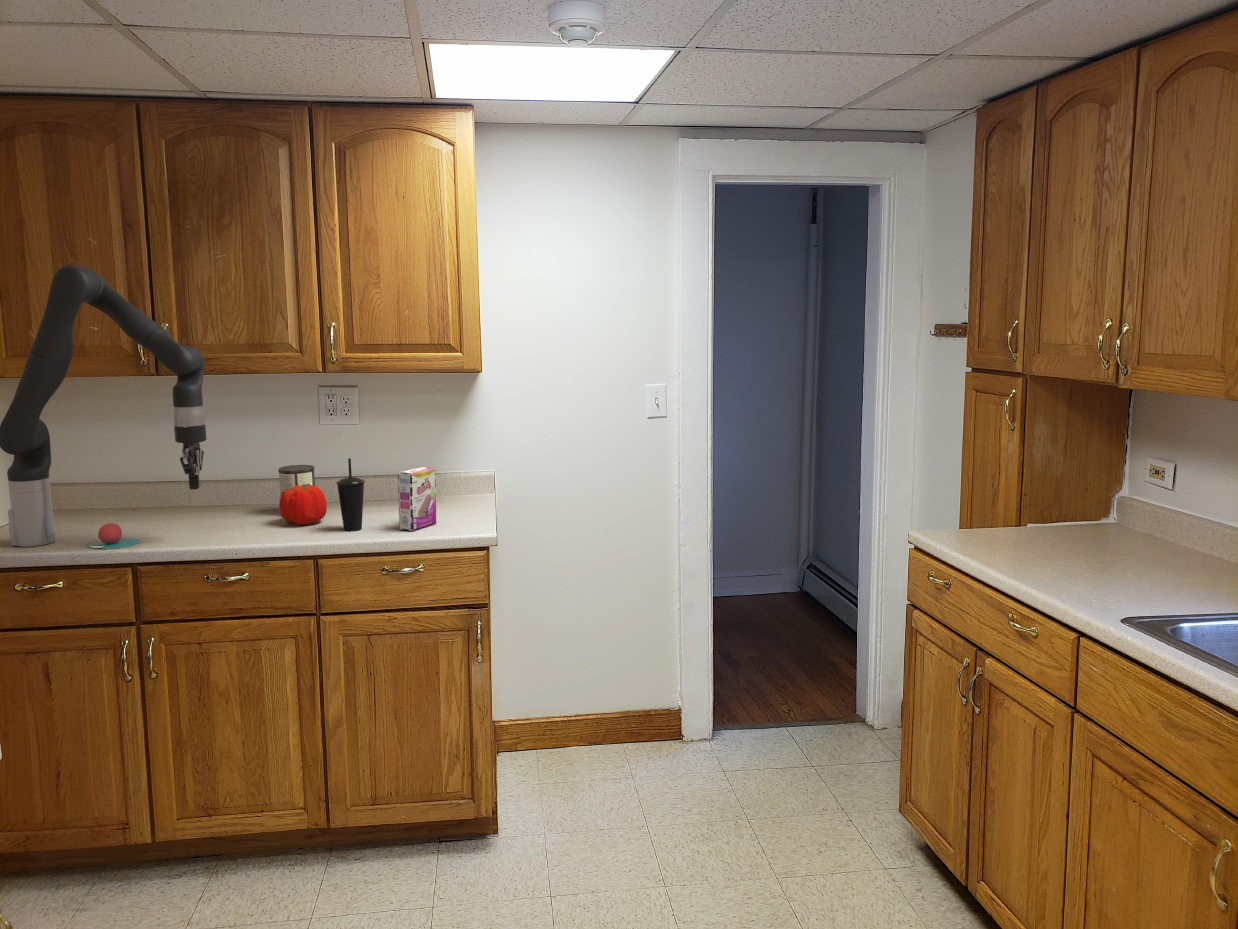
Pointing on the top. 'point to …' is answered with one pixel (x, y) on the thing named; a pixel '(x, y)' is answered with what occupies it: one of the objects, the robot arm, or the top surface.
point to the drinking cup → (351, 501)
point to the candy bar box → (417, 498)
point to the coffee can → (296, 476)
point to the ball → (110, 533)
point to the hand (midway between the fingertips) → (194, 488)
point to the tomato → (303, 505)
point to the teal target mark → (117, 543)
